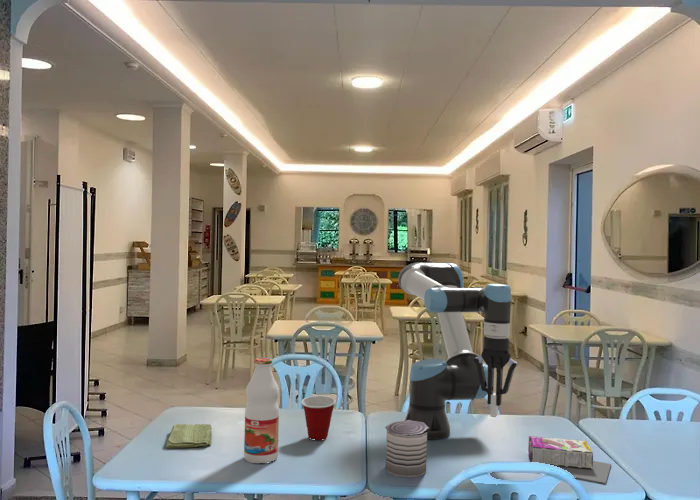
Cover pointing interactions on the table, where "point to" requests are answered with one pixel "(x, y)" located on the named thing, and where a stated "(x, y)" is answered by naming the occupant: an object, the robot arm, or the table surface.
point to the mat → (591, 472)
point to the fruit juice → (261, 415)
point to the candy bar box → (560, 452)
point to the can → (406, 448)
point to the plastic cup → (318, 415)
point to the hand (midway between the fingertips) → (493, 415)
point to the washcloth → (190, 436)
